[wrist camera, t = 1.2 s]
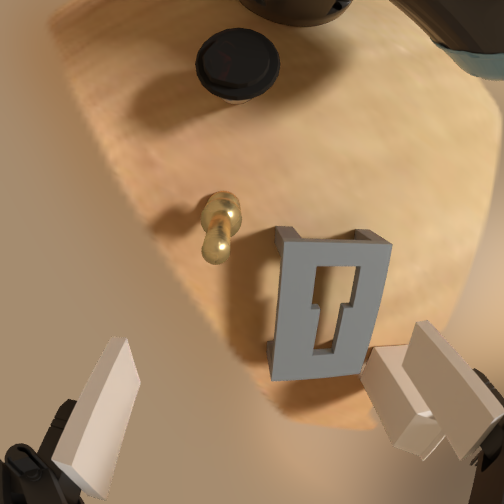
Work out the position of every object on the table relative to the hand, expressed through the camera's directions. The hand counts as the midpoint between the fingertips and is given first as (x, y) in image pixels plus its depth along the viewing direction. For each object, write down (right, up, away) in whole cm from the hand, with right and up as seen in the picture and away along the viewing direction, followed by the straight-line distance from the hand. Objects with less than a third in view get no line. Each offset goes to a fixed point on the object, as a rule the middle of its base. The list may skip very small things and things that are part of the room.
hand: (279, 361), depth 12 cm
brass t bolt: (-4, +10, +21) cm, 23 cm away
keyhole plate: (+7, -1, +25) cm, 26 cm away
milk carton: (+21, -13, +30) cm, 39 cm away
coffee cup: (-3, +23, +16) cm, 28 cm away
